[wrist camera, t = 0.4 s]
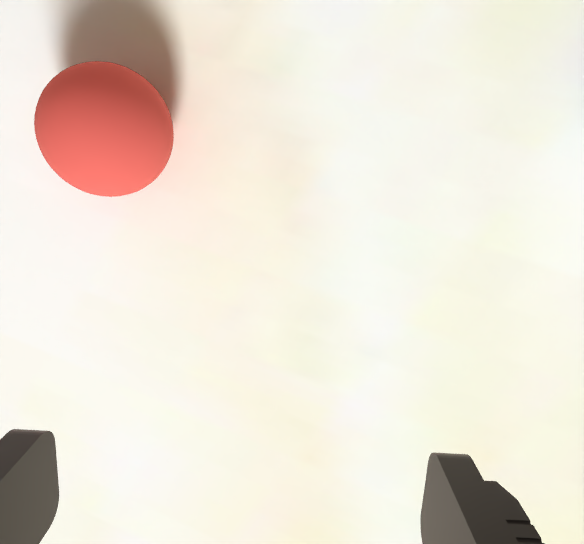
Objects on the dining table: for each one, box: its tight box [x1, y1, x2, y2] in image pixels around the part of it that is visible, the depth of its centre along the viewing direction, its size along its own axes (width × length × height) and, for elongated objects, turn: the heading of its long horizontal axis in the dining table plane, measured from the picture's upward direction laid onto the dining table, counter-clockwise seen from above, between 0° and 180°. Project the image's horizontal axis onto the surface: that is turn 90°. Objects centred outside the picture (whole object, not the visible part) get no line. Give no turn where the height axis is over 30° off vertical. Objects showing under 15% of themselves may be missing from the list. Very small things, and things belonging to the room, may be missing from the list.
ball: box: [34, 61, 173, 197], centre depth 23 cm, size 6×6×6 cm
